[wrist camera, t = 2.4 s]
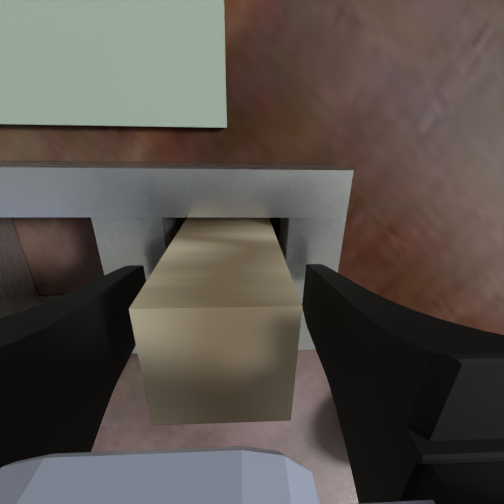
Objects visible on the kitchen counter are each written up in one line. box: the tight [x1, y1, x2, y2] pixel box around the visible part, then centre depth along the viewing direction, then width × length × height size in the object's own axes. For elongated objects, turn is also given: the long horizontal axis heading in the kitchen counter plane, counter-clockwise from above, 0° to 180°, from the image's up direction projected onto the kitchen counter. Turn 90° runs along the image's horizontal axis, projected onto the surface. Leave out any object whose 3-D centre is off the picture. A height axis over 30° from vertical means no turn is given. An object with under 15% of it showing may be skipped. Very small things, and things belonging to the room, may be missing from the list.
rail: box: [0, 161, 354, 353], centre depth 13 cm, size 18×9×2 cm, turn 89°
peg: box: [129, 217, 302, 425], centre depth 11 cm, size 4×4×8 cm
